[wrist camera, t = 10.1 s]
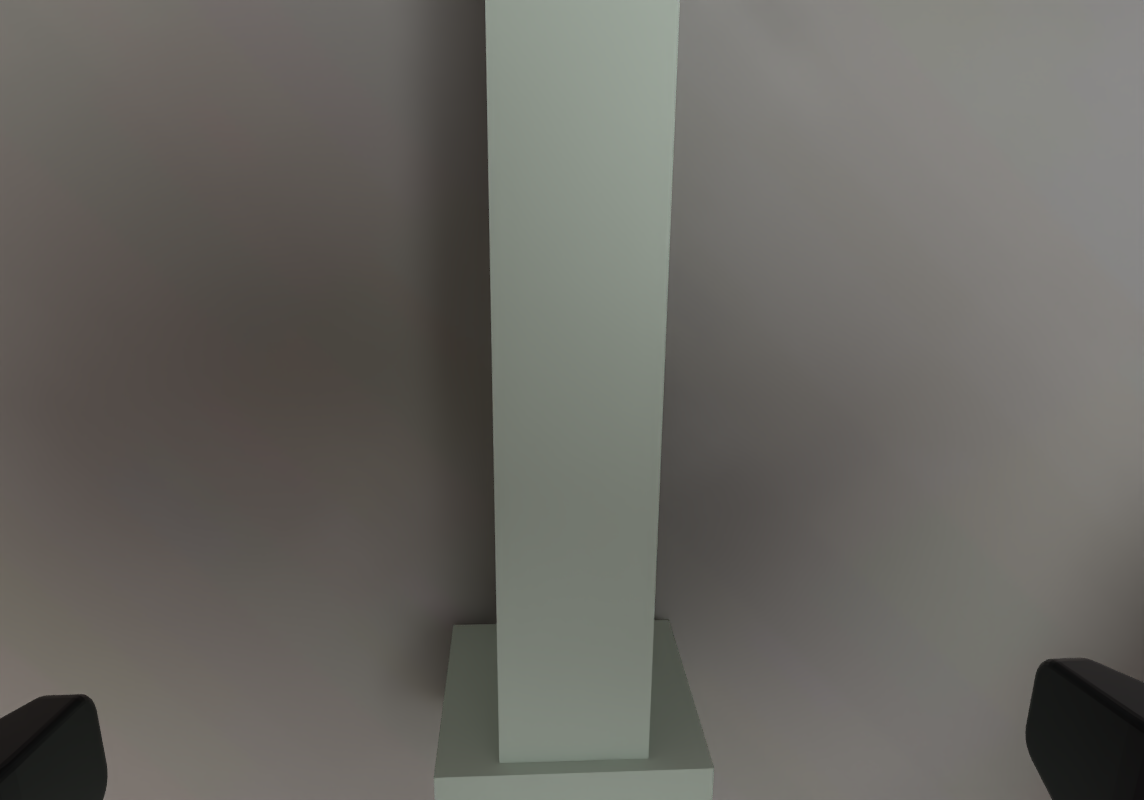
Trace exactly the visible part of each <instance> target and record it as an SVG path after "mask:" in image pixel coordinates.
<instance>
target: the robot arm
mask: <svg viewBox="0 0 1144 800" xmlns="http://www.w3.org/2000/svg"><path fill="white" fill-rule="evenodd" d="M1026 743H1027V748H1028V751H1029V754H1030V757H1031V759H1032V761H1033V763H1034V765H1035V767H1036V769H1037V771H1038V773H1039V775H1040V777H1041V779H1042V781H1043V783H1044V785H1045V786H1046V788H1047V790H1048V792H1049V794H1050V796H1051V798H1052V800H1144V682H1141V681H1139V680H1137V679H1134V678H1132V677H1130V676H1127V675H1125V674H1123V673H1120V672H1118V671H1116V670H1113V669H1111V668H1109V667H1107V666H1104V665H1102V664H1100V663H1097V662H1095V661H1093V660H1090V659H1086V658H1062V659H1048V660H1046V661H1044V662H1042V663H1041V664H1040V666H1039V667H1038V669H1037V672H1036V676H1035V681H1034V686H1033V692H1032V697H1031V702H1030V708H1029V713H1028V718H1027V724H1026ZM106 786H107V763H106V758H105V753H104V747H103V742H102V736H101V731H100V726H99V720H98V715H97V710H96V707H95V704H94V702H93V701H92V699H91V698H89V697H88V696H86V695H83V694H77V695H48V696H42V697H39V698H37V699H35V700H33V701H31V702H29V703H27V704H26V705H24V706H22V707H20V708H18V709H17V710H15V711H13V712H11V713H9V714H8V715H6V716H4V717H2V718H0V800H103V798H104V795H105V791H106Z"/></svg>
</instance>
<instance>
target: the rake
mask: <svg viewBox="0 0 1144 800" xmlns="http://www.w3.org/2000/svg"><path fill="white" fill-rule="evenodd" d="M679 8H680V0H485V19H486V73H487V127H488V181H489V235H490V288H491V342H492V396H493V450H494V504H495V558H496V612H497V624H473V625H453V632H452V640H451V647H450V655H449V663H448V671H447V679H446V686H445V694H444V702H443V710H442V718H441V725H440V733H439V741H438V749H437V757H436V764H435V772H434V794H435V800H712V794H713V779H714V766H713V763H712V759H711V756H710V753H709V750H708V746H707V743H706V740H705V737H704V733H703V730H702V727H701V724H700V720H699V717H698V714H697V710H696V707H695V704H694V701H693V697H692V694H691V691H690V688H689V684H688V681H687V678H686V674H685V671H684V668H683V665H682V661H681V658H680V655H679V652H678V648H677V645H676V642H675V639H674V635H673V632H672V629H671V625H670V622H669V620H654V612H655V587H656V563H657V539H658V515H659V491H660V467H661V442H662V418H663V394H664V370H665V346H666V322H667V298H668V273H669V249H670V225H671V201H672V177H673V153H674V129H675V104H676V80H677V56H678V32H679Z"/></svg>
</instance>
